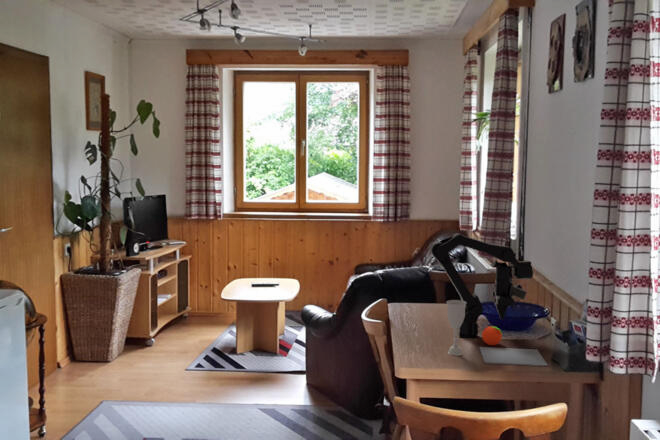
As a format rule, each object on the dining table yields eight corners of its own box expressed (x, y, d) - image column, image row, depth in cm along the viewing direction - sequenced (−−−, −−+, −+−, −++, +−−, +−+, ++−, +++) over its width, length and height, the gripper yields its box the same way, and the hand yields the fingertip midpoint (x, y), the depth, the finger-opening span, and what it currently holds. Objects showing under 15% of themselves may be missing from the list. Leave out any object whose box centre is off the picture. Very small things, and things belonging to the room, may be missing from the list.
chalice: (460, 357, 218) (462, 305, 217) (441, 354, 222) (443, 302, 220) (468, 352, 225) (469, 301, 223) (449, 349, 228) (451, 299, 227)
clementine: (507, 345, 233) (508, 326, 233) (497, 349, 229) (498, 329, 228) (488, 341, 239) (488, 322, 238) (478, 344, 234) (478, 325, 234)
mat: (484, 363, 212) (484, 362, 212) (479, 348, 230) (479, 347, 230) (547, 366, 210) (547, 365, 210) (537, 350, 227) (537, 349, 227)
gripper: (529, 284, 233) (528, 326, 235) (521, 275, 252) (519, 314, 253) (498, 282, 235) (496, 325, 236) (492, 274, 253) (490, 313, 255)
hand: (502, 319), depth 245 cm, fingers closed
